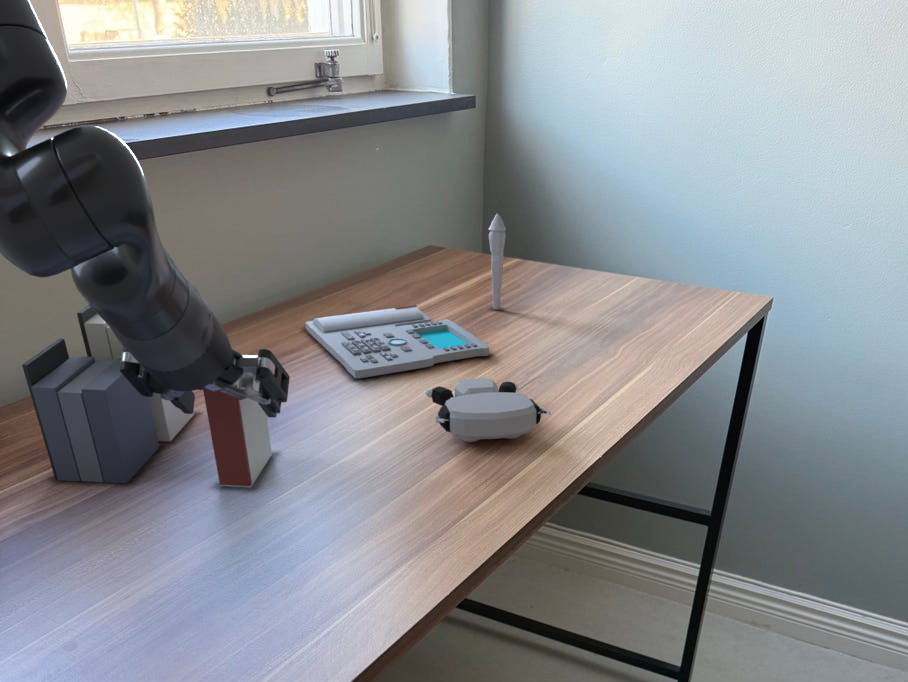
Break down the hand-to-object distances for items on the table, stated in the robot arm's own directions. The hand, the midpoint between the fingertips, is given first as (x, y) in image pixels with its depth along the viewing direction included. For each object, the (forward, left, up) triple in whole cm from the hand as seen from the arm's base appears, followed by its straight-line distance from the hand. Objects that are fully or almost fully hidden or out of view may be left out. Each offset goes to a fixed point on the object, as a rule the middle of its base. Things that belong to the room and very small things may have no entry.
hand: (231, 406), depth 92 cm
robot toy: (+24, +16, -8) cm, 30 cm away
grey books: (-15, +2, -8) cm, 17 cm away
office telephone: (+9, +44, -8) cm, 45 cm away
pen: (+22, +62, -8) cm, 66 cm away
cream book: (0, +2, -8) cm, 8 cm away
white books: (-14, +12, -8) cm, 20 cm away
